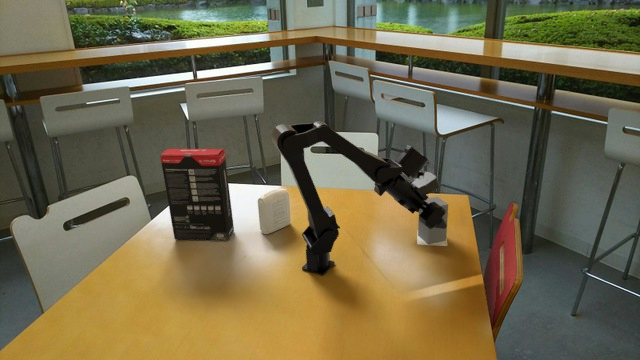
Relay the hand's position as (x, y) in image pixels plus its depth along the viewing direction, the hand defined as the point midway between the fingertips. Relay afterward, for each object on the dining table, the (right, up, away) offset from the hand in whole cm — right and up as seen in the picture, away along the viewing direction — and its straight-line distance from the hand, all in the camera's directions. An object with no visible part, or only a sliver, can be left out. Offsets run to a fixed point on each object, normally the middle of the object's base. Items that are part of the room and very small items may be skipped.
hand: (436, 220), depth 132 cm
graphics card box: (-67, -6, +12) cm, 68 cm away
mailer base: (-1, -7, +2) cm, 7 cm away
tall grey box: (-1, -5, +2) cm, 6 cm away
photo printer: (-46, -4, +15) cm, 48 cm away
